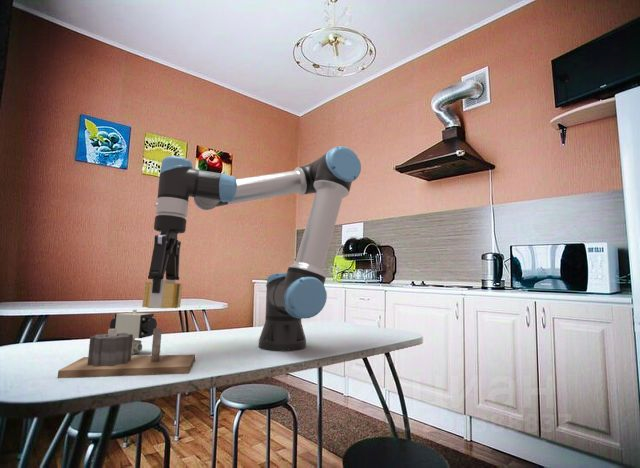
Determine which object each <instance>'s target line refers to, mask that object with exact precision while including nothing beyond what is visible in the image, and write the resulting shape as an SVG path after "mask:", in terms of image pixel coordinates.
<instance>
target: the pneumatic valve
mask: <svg viewBox="0 0 640 468" xmlns="http://www.w3.org/2000/svg"><path fill="white" fill-rule="evenodd" d="M154 315H155V314H154V313H147V312H138V311H137V309H133V310H132V312H119V313H118V312H117V313H115V314H114V317H112V319H110V323H109V329H117V333H127V334H133V340H132V352H131V356H134V355H135V354H140V353H141V352H142V349H143V344H142V340H140V339H144V338H148V337H153V330H154V329H155V328H158V327H157V326H158V324H157V320H156V318H155V317H154Z"/></svg>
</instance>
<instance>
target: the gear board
mask: <svg viewBox="0 0 640 468" xmlns="http://www.w3.org/2000/svg"><path fill="white" fill-rule="evenodd" d="M162 331H163V329H162V327H161V328H159V327H156V328H155V329H154V330H153V333H152V343H151V355H131V352H132V340H133V334H127V333H117V329H110V328H108V330H107V333H103V334H94V336H90V337H89V344H88V354H87V355H88V356H84V357H82V358H80V359H77V360H76V361H74V362H72V363H70V364H68V365H66V366H65V367H62V368H60V369H59V370H58V372H57V379H64V378H65V379H70V378H93V377H94V378H95V377H120V376H121V377H124V376H151V375H153V376H154V375H179V374H183V375H184V374H190V372H191V370H192V368H193V366H194V364H195V363H196V362H195V361H196V353H195V354H193V353H192V354H165V355H164V354H162V355H161V343H162Z"/></svg>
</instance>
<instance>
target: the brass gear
mask: <svg viewBox="0 0 640 468" xmlns="http://www.w3.org/2000/svg"><path fill="white" fill-rule="evenodd" d="M151 285H152V281H145V282H144V286H143V287H144V288H143V289H144V290H143V295H142V296H143V297H142V305H141V306H142V308H147V309H156V308H155V307H149V302H150V294H151ZM182 292H183V283H182V282H181V283H178V282H175V283H165V284H164V293H163V302H162V308H161V309H178V308H181V302H182V301H181V300H182Z"/></svg>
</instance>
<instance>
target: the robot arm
mask: <svg viewBox="0 0 640 468" xmlns="http://www.w3.org/2000/svg"><path fill="white" fill-rule="evenodd" d="M361 172H362V163H361V161H360V158H359V157H358V155H357V153H356V152H355V151H354V150H352V149H351V148H349V147H347V146H344V145H343V146H341V145H339V146H335V147H333V148H331V149H329V150H328V151H327V152H326V153H325V154H323V155H321V156H320V157H319V158H317V159H315V160H314V161H313V162H311V163H309V164H306V165H303V166H296V167H295V168H294V170H289V171H283V172H277V173H276V172H275V173H269V174H262V175H261V174H260V175H255V176H249V177H247V176H246V177H240V178H236V176H235V175H231V174H226V173H220V172H214V171H207V170H202V169H201V170H200V169H196V168H193V163H192V161H191V160H190V159H188V158H185V157H182V156H177V155H168V156H165V157H164V158H163V159H162V161H161V165H160V171H159V177H158V188H157V189H158V190H157V197H156V198H157V199H156V202H155V203H154V207H156V208H155V214H156V215H155V217H154V223H153V229H154V231H156V232H160V234H155V235H154V241H153V243H154V245H153V249H152V255H151V261H150V265H149V272H148V275H147V279H148V280H151V282H152V285H151V294H150V302H149V307H155V308H154V309H163V308H162V302H163V293H164V284H165V283H177V282H176V281H179V280H180V276H179V275H180V254H181V253H180V251H181V245H182V242H181V240H180V241H179V239H178V234H185V232H186V229H187V219H186V218H187V217H188V211H189V198H193V202H194V204H195V205H196V206H197V208H199V209H200V210H204V211H209V210H213V209H214V208H216V207H223V206H228V205H232V204H233V205H234V204H237V203H238V204H239V203H245V202H252V201H257V200H262V199H267V198H273V197H279V196H280V197H281V196H286V195H293V194H298V195H301V196H304V195H310V194H314V198H313V201H312V204H311V208H310V210H309V215H308V218H307V221H306V225H305V228H304V230H303V231H304V232H303V235H302V238H301V242H300V245H299V248H298V251H297V255H296V258H295V261H294V263H292V264H291V265H289V266H288V268H287V271H286V272H280V273H277V272H276V273H272V274H270V275H267V276H268V277H267V278H266V279H267V280H266V285H265V288H266V293H265V296H266V297H265V298H266V300H265V321H264V325H263V328H262V330H261V333H260V335H259V338H258V347H259V348H260V349H263V350H266V351H267V350H268V351H280V352H281V351H298V350H302V349H303V350H304V349H305V348H306V347H307V338H306V334H305V331H304V328H303V324H302V320H303V319H305V320H306V319H311V318H314V317H315V316H317V315H318V314H320V313H321V311H322V310H323V308H324V307H325V305H326V303H327V297H328V296H327V295H328V294H327V290H326V287H325V283H326V279H327V276H326V274H325V273H324V266H325V264H326V263H325V262H326V259H327V255H328V252H329V250H330V249H329V248H330V245H331V240H332V237H333V234H334V232H335V231H334V230H335V226H336V223H337V219H338V216H339V212H340V209H341V205H342V201H343V199H344V198H346V197H348V196H349V193H350V189H351V187H352V183H353V182H354V181H356V180H357V179H358V177H360V175H361ZM164 278H165V279H164Z"/></svg>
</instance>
